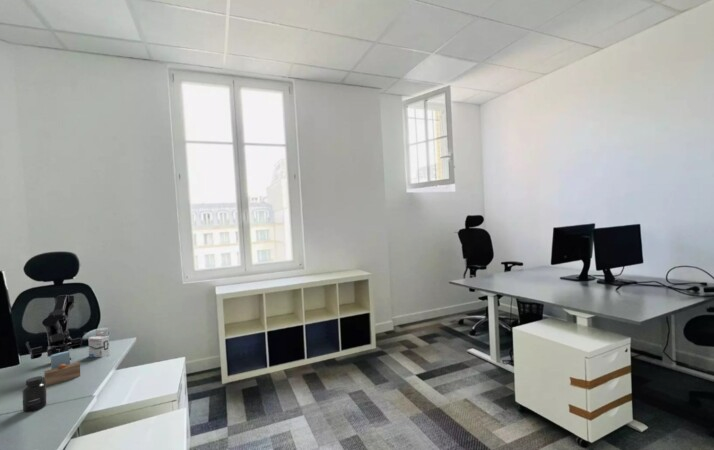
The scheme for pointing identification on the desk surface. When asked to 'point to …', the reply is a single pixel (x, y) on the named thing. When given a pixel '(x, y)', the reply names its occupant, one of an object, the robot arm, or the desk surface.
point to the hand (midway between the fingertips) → (59, 362)
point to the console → (61, 373)
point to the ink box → (99, 344)
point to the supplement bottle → (34, 394)
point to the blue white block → (60, 359)
